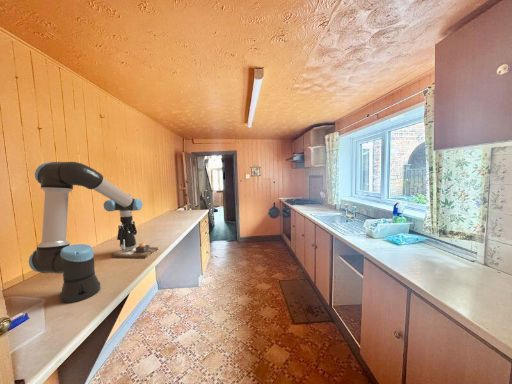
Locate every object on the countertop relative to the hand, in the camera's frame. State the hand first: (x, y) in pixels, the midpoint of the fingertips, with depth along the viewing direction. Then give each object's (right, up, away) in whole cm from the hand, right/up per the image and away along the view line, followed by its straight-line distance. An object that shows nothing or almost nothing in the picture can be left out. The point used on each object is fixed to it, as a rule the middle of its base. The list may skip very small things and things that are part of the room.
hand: (128, 245), depth 151 cm
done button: (+11, -1, -1) cm, 11 cm away
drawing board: (+6, -6, 0) cm, 8 cm away
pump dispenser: (0, -3, 0) cm, 3 cm away
